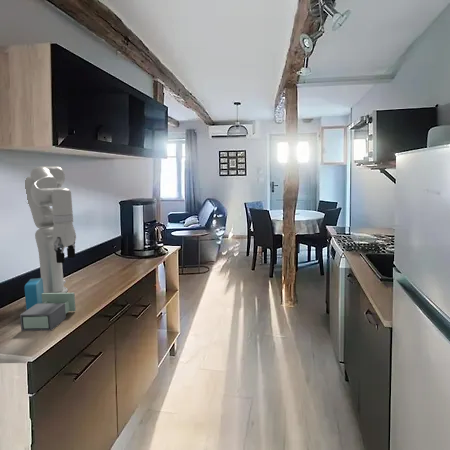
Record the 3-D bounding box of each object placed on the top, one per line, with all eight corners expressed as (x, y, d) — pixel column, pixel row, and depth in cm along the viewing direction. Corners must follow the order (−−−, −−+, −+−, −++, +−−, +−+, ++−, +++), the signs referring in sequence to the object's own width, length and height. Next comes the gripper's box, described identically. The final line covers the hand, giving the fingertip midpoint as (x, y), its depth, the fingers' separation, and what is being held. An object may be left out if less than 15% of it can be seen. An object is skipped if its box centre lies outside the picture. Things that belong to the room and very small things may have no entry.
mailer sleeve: (38, 318, 152) (36, 303, 151) (65, 318, 152) (64, 303, 151) (21, 330, 140) (19, 314, 139) (51, 330, 140) (50, 314, 139)
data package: (33, 304, 168) (31, 277, 167) (44, 303, 169) (42, 277, 168) (26, 314, 157) (24, 285, 155) (38, 313, 158) (36, 284, 156)
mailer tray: (44, 310, 159) (42, 293, 158) (75, 310, 158) (74, 292, 157) (18, 329, 140) (16, 309, 139) (54, 329, 140) (52, 308, 139)
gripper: (63, 216, 168) (66, 255, 170) (43, 221, 151) (47, 265, 153) (80, 216, 168) (83, 255, 170) (62, 221, 150) (65, 264, 153)
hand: (66, 259), depth 162 cm, fingers open, 9 cm apart
